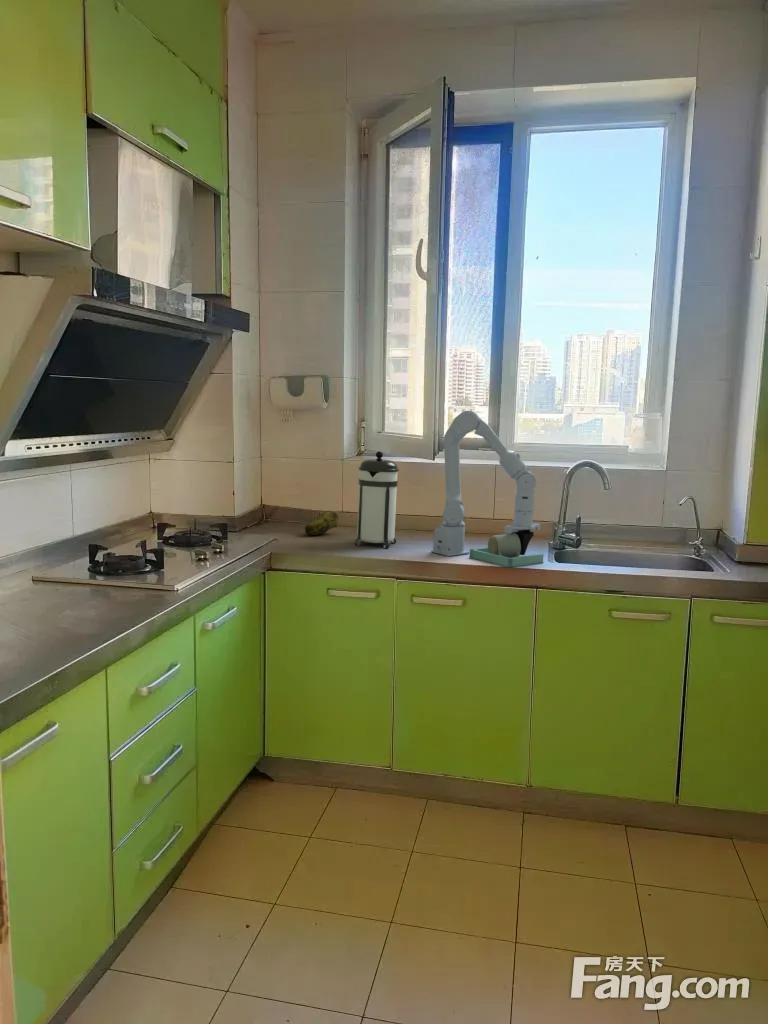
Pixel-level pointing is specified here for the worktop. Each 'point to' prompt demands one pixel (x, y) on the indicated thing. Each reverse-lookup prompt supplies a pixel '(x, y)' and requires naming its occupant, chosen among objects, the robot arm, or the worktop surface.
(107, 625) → the worktop surface
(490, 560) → the tray
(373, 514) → the coffee press
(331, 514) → the olive green rounded lump
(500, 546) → the ceramic mug
